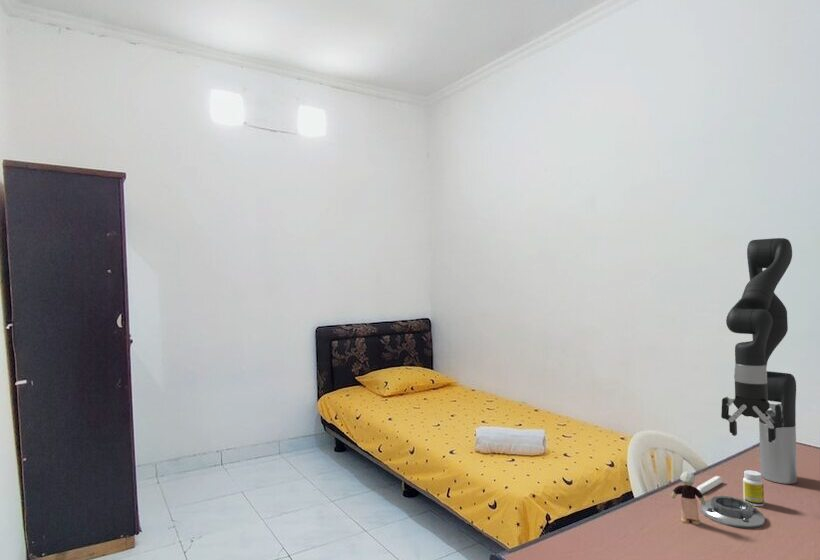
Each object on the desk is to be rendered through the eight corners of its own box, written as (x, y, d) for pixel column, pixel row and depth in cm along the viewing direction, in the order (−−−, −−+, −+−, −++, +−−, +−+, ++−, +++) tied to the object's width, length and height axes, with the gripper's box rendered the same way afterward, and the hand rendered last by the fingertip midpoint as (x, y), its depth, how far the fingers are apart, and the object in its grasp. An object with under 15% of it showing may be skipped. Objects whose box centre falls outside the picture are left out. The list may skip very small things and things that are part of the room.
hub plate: (710, 499, 140) (710, 488, 140) (770, 515, 129) (770, 503, 129) (693, 515, 130) (693, 503, 130) (757, 534, 120) (756, 521, 120)
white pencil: (695, 499, 142) (717, 484, 152) (701, 497, 141) (724, 482, 151) (690, 489, 144) (712, 475, 153) (696, 488, 142) (719, 474, 152)
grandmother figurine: (703, 519, 128) (702, 470, 128) (707, 526, 124) (706, 476, 124) (670, 515, 130) (669, 467, 130) (673, 522, 126) (672, 472, 127)
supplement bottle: (767, 507, 134) (766, 476, 135) (748, 506, 135) (747, 475, 135) (758, 500, 139) (758, 470, 139) (740, 498, 140) (739, 469, 140)
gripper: (785, 381, 135) (786, 440, 135) (725, 375, 145) (726, 430, 145) (779, 385, 130) (780, 447, 130) (717, 378, 140) (719, 435, 140)
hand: (752, 438), depth 137 cm, fingers open, 8 cm apart
